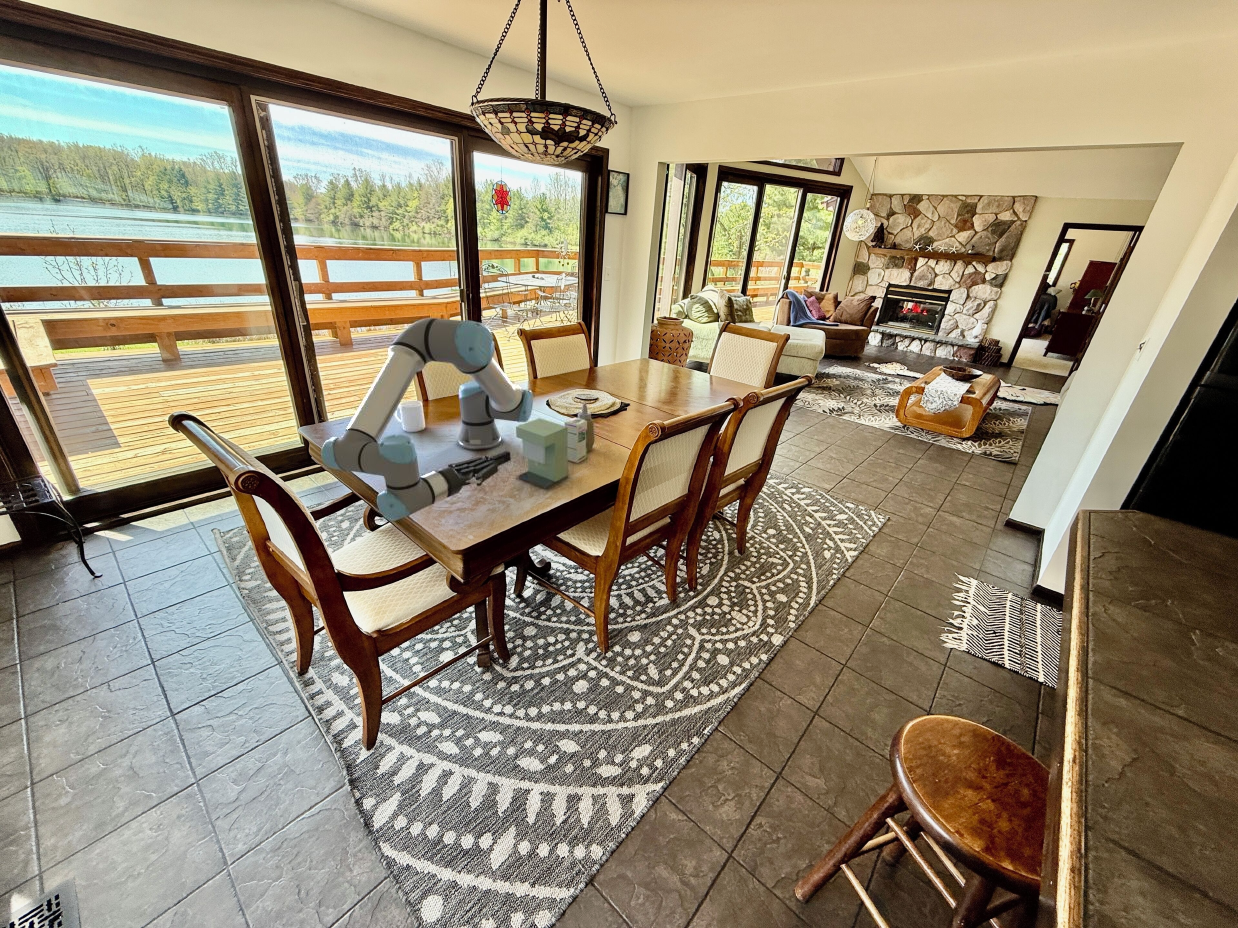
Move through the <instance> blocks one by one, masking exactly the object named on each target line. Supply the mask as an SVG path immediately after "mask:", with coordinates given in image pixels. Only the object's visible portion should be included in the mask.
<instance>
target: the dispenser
mask: <svg viewBox="0 0 1238 928" xmlns="http://www.w3.org/2000/svg"><path fill="white" fill-rule="evenodd" d="M515 435H516V438H518V439H521V440H522V439H523V440H526V441H529V442H532V443H534V444H537V445H540V446H543V447H545V464H542V463H539V462H537V461H534V460H531V459H529V458H527V471H525V472H523V473H521V474H519V475H518V479H519V480H521V481H524V482H526V483H529V484H531V485H534V486H536V487H538V488H541V489H543V490H548V489H550V488H552V487H553V486H555V485H557V484H559V483H561V482H563V481H564V480H567V479H568V478H569V475H568V473H569V472H568V470H569V469H568V467H569V466H568V462H569V460H568V427H566V426H565V425H564V424H563V425H562V424H559V423H556V422H553V421H550V420H547V419H544V418H540V417H539V418H536V419H533V420H530V421H527V422H524V423H523V424H520V425H517V426H515Z"/></svg>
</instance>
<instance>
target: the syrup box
mask: <svg viewBox="0 0 1238 928" xmlns="http://www.w3.org/2000/svg"><path fill="white" fill-rule="evenodd" d="M564 426H566V427H568V461H570V462H574V463H576V464H579V463H580V462H581V461H583V460H585V459H587V458H588V452H587V420H584V419H581V418H578V417H575V416H574V417H573V418H571V419H568V420H566V421H564Z"/></svg>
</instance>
